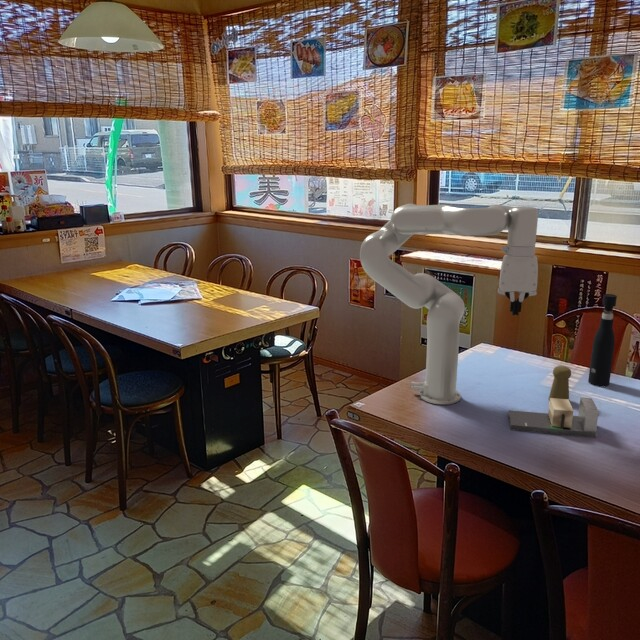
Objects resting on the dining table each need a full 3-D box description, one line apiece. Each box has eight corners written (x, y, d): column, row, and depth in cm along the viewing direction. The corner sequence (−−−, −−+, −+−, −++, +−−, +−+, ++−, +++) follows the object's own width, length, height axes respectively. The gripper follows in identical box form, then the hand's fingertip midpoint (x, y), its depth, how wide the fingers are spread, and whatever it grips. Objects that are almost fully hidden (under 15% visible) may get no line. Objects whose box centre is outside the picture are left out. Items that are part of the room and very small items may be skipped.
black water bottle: (610, 381, 201) (622, 294, 193) (607, 388, 196) (619, 298, 188) (589, 378, 205) (600, 292, 196) (586, 384, 199) (597, 296, 191)
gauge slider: (552, 427, 165) (554, 410, 163) (548, 413, 173) (549, 397, 172) (572, 429, 164) (574, 412, 162) (566, 415, 172) (568, 399, 171)
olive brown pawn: (571, 405, 183) (575, 371, 180) (550, 403, 184) (553, 370, 181) (567, 397, 189) (571, 364, 186) (547, 396, 190) (550, 363, 187)
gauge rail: (510, 429, 168) (513, 405, 166) (508, 414, 177) (510, 391, 175) (595, 437, 163) (599, 412, 161) (588, 421, 172) (591, 397, 170)
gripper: (493, 252, 168) (488, 316, 173) (550, 254, 164) (543, 319, 169) (492, 248, 175) (487, 309, 180) (546, 250, 171) (540, 312, 176)
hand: (515, 314), depth 174 cm, fingers closed
